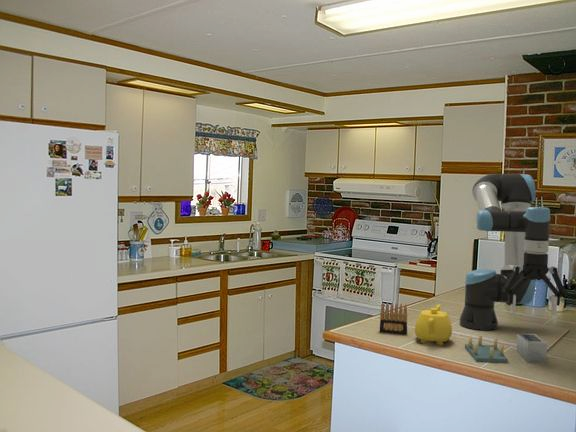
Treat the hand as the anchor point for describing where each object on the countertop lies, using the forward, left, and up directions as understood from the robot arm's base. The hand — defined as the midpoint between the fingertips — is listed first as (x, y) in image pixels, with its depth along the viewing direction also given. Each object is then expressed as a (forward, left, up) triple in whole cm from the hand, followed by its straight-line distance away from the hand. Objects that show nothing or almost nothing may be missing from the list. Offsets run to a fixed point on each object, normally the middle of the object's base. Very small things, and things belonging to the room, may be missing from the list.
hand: (533, 314), depth 184 cm
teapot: (-16, -30, -16) cm, 37 cm away
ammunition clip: (-24, -44, -16) cm, 53 cm away
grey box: (0, 0, -15) cm, 15 cm away
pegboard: (-1, -15, -15) cm, 21 cm away
